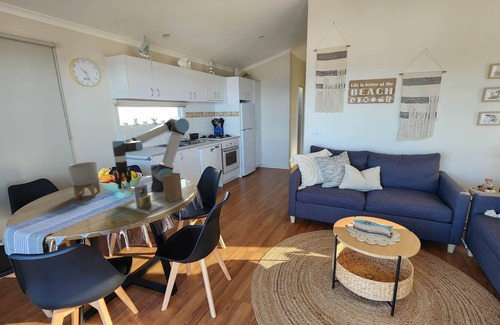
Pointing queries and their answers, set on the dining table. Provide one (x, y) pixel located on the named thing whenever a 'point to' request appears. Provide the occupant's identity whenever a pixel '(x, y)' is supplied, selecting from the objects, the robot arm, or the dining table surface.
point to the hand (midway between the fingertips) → (125, 191)
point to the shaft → (129, 188)
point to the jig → (136, 205)
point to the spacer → (143, 202)
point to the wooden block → (172, 186)
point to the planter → (84, 177)
